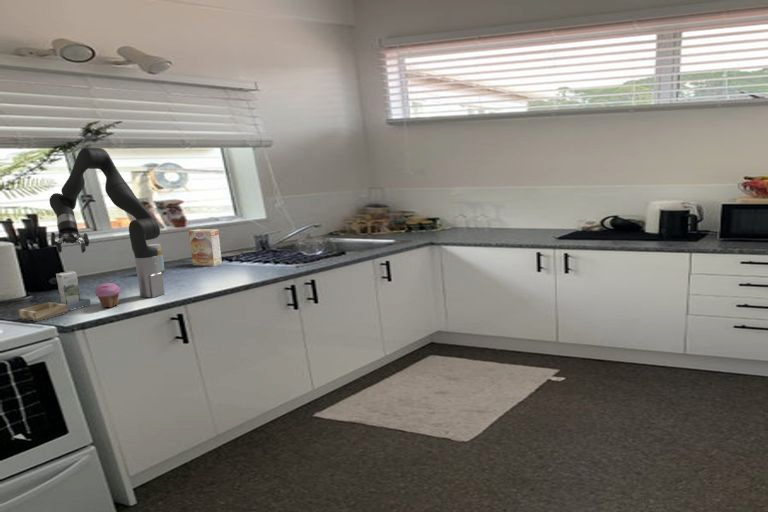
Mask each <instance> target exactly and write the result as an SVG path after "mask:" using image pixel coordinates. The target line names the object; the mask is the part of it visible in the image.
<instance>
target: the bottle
mask: <svg viewBox="0 0 768 512" xmlns="http://www.w3.org/2000/svg"><path fill="white" fill-rule="evenodd" d="M147 246H149V247H152V248H156V249H157V250H158V256H159V264H160V272H161V273H162V274H163V273H165V271H166V270H165V263H164V262H165V261H164V255H163V251H162V245H161V243H151V244H147Z"/></svg>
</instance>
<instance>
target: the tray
mask: <svg viewBox="0 0 768 512" xmlns="http://www.w3.org/2000/svg"><path fill="white" fill-rule="evenodd" d="M17 311H18V316H19V320H24V319H26V320H25V321H30V320H33V321H32V322H35V321H38V322H40V321H39V320H42V321H44V320H43V319H45V320H48V319H47V318H49V319H51V318H50V317H52V318H55V317H54V316H56V317H58V316H57V315H60V314H63V313H67V312H68V313H69V311H67V305H66V304H59V303H54V302H52V301H48V302H44V303H39V304H36V305H32V306H28V307H24V308H20V309H18V310H17ZM68 313H67V314H68ZM63 315H64V314H63ZM60 316H61V315H60Z"/></svg>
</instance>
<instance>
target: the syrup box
mask: <svg viewBox="0 0 768 512" xmlns="http://www.w3.org/2000/svg"><path fill="white" fill-rule="evenodd" d="M55 275H56V277H55V278H56V281H57V288H58V295H59V301H60V302H61V304H66V305H68V304H72V303H75V302H79V301H81V300H80V298H81V294H80V288H79V281H78V274H77V272H76V271H73V270H68V271H64V272H59V273H55Z"/></svg>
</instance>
